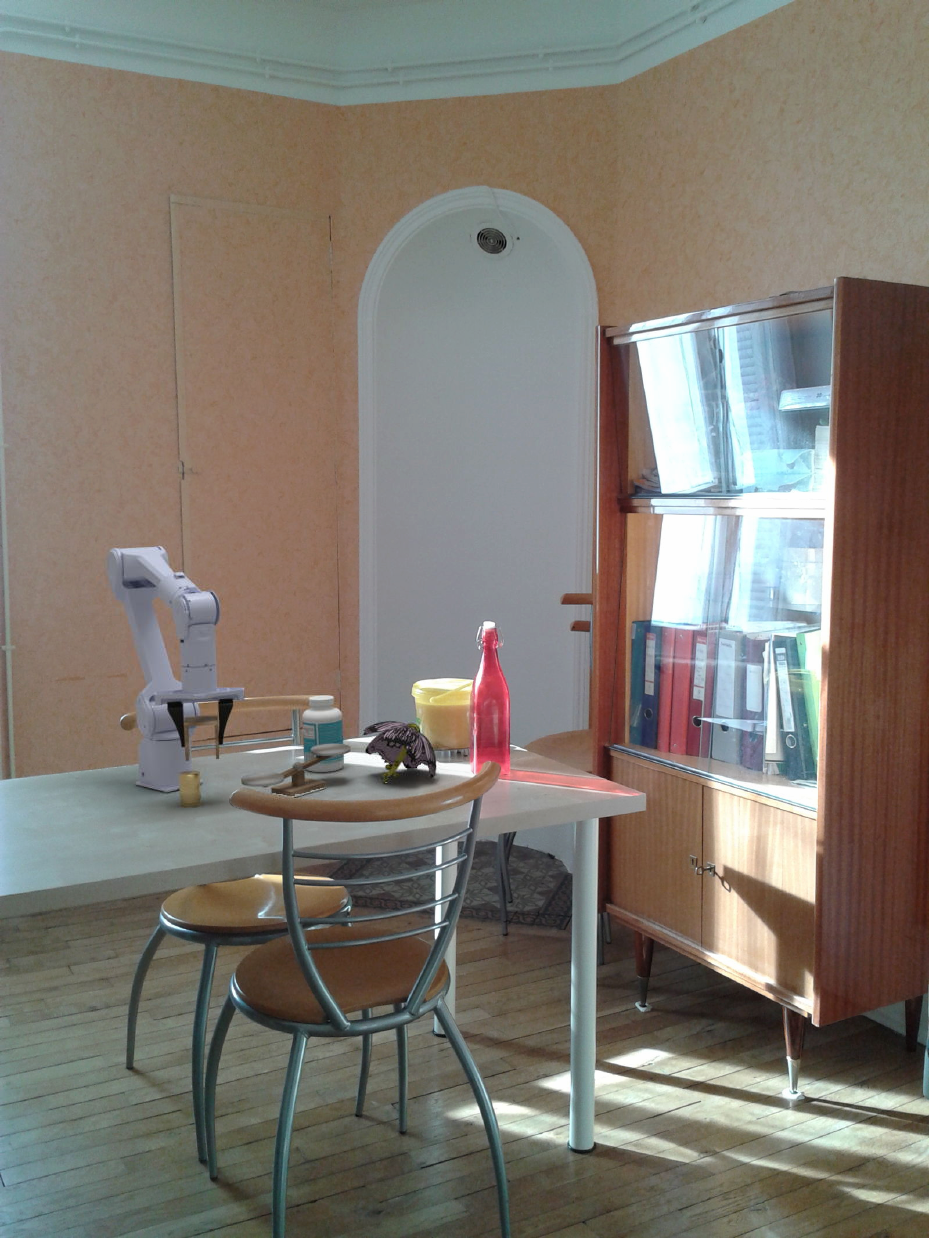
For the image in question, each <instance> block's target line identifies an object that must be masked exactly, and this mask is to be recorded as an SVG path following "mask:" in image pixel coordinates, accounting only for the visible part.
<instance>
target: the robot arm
mask: <svg viewBox="0 0 929 1238" xmlns="http://www.w3.org/2000/svg"><path fill="white" fill-rule="evenodd" d="M105 570H106V574H107V575H106V576H107V578H108V583H109V586H110V589H111V590H110V591H111V592H112V594H113V598H114V599H116V600H117V601H119V602H121V603H122V604H123V607H124V611H125V615H126V617H127V622H128V624H129V628H130V632H131V636H132V639H133V642H134V646H135V651H136V654H137V657H138V661H139V664H140V667H141V671H142V675H143V679H144V681H145V685H146V686H145V687H144V688H143V689H142V691H140V692H139V694H137V697H136V699H135V701H134V706H135V712H136V724H137V727H138V730H139V731H140V733H141V734H142V735H143V737H142V739H141V740H140V742H139V745H138V746H137V747H138V748H137V754H138V755H137V758H138V777H139V779H138V781H135V785H136V786H140V787H145V788H148V789H152V790H157V791H160V792H165V793H170V792H173V791H177V790H180V789H179V773H181V772H184V771H193V761H192V758H193V757H192V745H191V744H192V738H191V736H193V735H195V730H197V728H198V727H199V726H188V728H189V749H190V755H189V761H186V758H185V737H184V720H185V717H192V716H201V710H200V705H199V703H208V702H209V703H211V702H218V703H217V704H218V705H217V708H218V710H217V711H218V734H219V746H223V745H224V736H225V731H226V727H227V724H228V720H229V718H230V715H231V713H232V710H233V708H234V701H238V702H241V701H243V702H244V701H245V699H246V697H245V687H218V674H217V651H216V649H217V647H216V633H215V632H216V628H215V626H216V625H218V623H219V622H220V619H221V604H220V600H219V597H218V595H217V594H216V593H215V592H214V591H213V590H207V591H205V590H204V591H202V590H201V589H200V588H199V587H198V586H197V585H196V584H195V583H193V582H192V581H191V580H190V579H189V578H188V577H187V576H186V574H185V573H184V572H183V571H180V572H174V571H173V569H172V568H171V567H170V562H169V556H168V553H167V551H166V550H165V548H164V547H163V546H162V545H156V546H151V547H150V546H149V547H127V548H117V547H113V548H111V549H110V550H109V552H108V554H107V555H106V569H105ZM158 597H159V598H160V599H161V601H162V602H163V603H164V604H165V605H166V606H167V607H168V608H169V609H170V610H171V614H172V619H173V623H174V625H175V635H176V637H177V639H179V649H180V650H179V653H180V671H181V672H180V673H181V674H180V675H181V681H179V680H177V678H175V677H174V674H173V670H172V666H171V664H170V659H169V656H168V653H167V650H166V646H165V642H164V639H163V635H162V631H161V629H160V626H159V623H158V618H157V615H156V611H155V608H154V605H153V601H154V600H155V599H157V598H158ZM203 783H204V780H203V779H200V784H203Z"/></svg>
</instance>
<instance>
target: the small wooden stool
mask: <svg viewBox="0 0 929 1238" xmlns="http://www.w3.org/2000/svg"><path fill="white" fill-rule="evenodd" d="M188 726H198V727H199V726H200V727H202V726H203V727H204V726H214V741H215V742H214V744H215V746H214V747H215V759H216V760H220V745H219V714H212V715H211V714H209V715H200V716H192V717H185V720H184V737H185V758H186V761H189V755H190V749H189V728H188Z"/></svg>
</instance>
